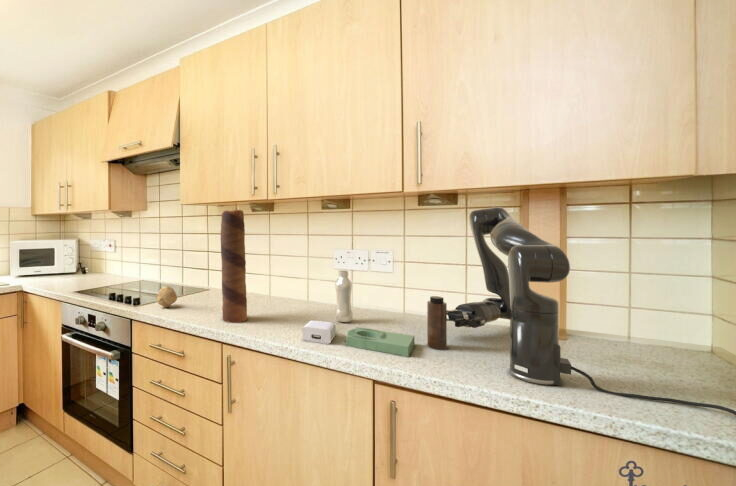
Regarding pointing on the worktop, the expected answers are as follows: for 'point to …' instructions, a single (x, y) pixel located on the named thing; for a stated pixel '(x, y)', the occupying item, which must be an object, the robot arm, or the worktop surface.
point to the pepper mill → (437, 323)
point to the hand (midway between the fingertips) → (442, 320)
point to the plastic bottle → (343, 297)
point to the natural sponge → (166, 296)
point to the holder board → (380, 341)
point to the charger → (319, 332)
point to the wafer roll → (233, 266)
